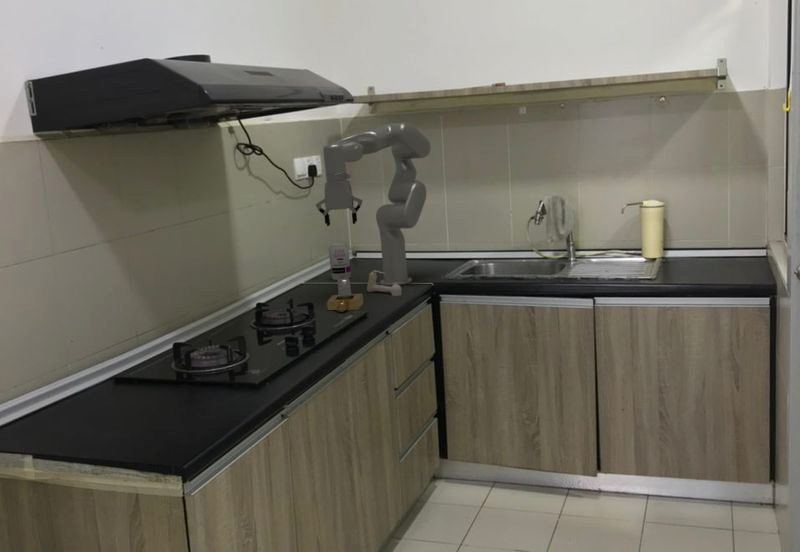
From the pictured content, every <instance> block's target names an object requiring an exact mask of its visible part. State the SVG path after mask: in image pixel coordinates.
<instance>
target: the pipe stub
mask: <svg viewBox="0 0 800 552" xmlns="http://www.w3.org/2000/svg"><path fill="white" fill-rule="evenodd" d="M351 288H352V287H351V279H348V278H345V279H338V280H337V289H338V295H339V300H342V299H352V298H351V293H352V291H351V290H352V289H351Z"/></svg>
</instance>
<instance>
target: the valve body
mask: <svg viewBox="0 0 800 552" xmlns="http://www.w3.org/2000/svg"><path fill="white" fill-rule="evenodd" d="M363 295H364V293H352V292H351V298H352V299H342V300H339V294H334V295H331V296H330V298H329V299H328V300H327V301H326V304H327V311H328V310H337V311H336V312H338V311H345V310H346V311H359V310H361V307H362V306H363V304H364V296H363ZM346 311H345V312H346Z"/></svg>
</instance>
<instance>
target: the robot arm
mask: <svg viewBox="0 0 800 552" xmlns="http://www.w3.org/2000/svg"><path fill="white" fill-rule="evenodd" d="M389 147H391V149H390V150H391V154H392V156H393V159H394V163H395V168H396V169H395V172H394V175H393V178H392V181H391V184H390V186H389V190H388V192H387V198H388V201H389V202H390V203H387V204H383V205H381V206H380V207H379V208H378V209H377V211H376V213H375V220H376V224H377V227H378V230H379V231H378V232H379V237H380V247H381V259H382V272H383V273H385V274H383V273H382V274H383V279H382V280H381V279H380V282H379V283H380V284H379V285H384V286H387V287H392V286H393V285H394V284H397V285H399V286H402V285H407V284H411V283H412V282H413V279H412V278H411V277H408V267H407V266H408V265H407V256H406V255H407V253H406V240H405V236H404V234H403V231H402V230H401V229H412V228H414V227H416V225H417V224H418V222H419V219H420V217H421V214H422V211H423V210H424V209H423V208H424V206H425V202H426V200H427V189H426V185H425V183H424V182H422V181H421V180H416V178H417V169H416V166H415V165H414V163H413V161H412V159H424V158H425V157H427V156H428V155H429V154H430V152H431V143H430V141H429V139H428V137H426V136H425V135H424V134H423V133H422V132H420V130H418V129H417V128H416V127H414V126H413V125H412V124H410V123H408V122H403V121H402V122H389V123H386V124H382V125H381V126H378V127H376V128H373V129H371V130H368V131H365V132H364V131H363V132H361V133H358V134H355V135H351V136H348V137H347V136H346V137H344V138H341V139H339V140H336V141H333V142H332V143H330V144H326V145H324V146H323V148H322V152H323V160H324V170H325V178H326V182H325V183H324V198H323V199H321V200H320V201H318V203H316V204H315V207H316V208H317V210H318V212H320V213H321V214H322V215H323V216H324V224H325V225H326V227H329V226H331V219H330V214H329V212H330V211H332V210H334V211H335V210H346V209H349V210H350V212H352V213H351V220H352V224H353V225H355V224H357V223H356V222H358V217H357V212H358V211H359V210H360V208H361V207H362V204H363V202H364V201H363V200H362V199H361V198H358V197H356V196H354V195H353V190H352V185H351V182H350V180H348V179H349V178H351V173H348V172H347V168H346V167H347V166H346V165H347V164H346V163H355V162H358V161H360V160H361V159H362V158H363V157H364V155H371V154H374V153H378V152H380V151H382V150H384V149H387V148H389ZM354 201H355V202H357V205H356V207H355V206H354V205H355V203H354ZM323 204H324V207H325V209H324V208H322V205H323Z"/></svg>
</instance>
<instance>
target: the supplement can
mask: <svg viewBox="0 0 800 552" xmlns="http://www.w3.org/2000/svg"><path fill="white" fill-rule="evenodd" d="M328 252H329V253H328V254H329V255H328V257H329V264H330V265H329V267H330V273H331V280H332V279H333V281H335V280H338V279H345V278H348V279H349V278H351V277H352V273H351V262H350V261H351V260H350V253H349V252H350V251H349V245H348V244H347V242H335V243H334V242H333V243H330V244H329V248H328Z"/></svg>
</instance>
